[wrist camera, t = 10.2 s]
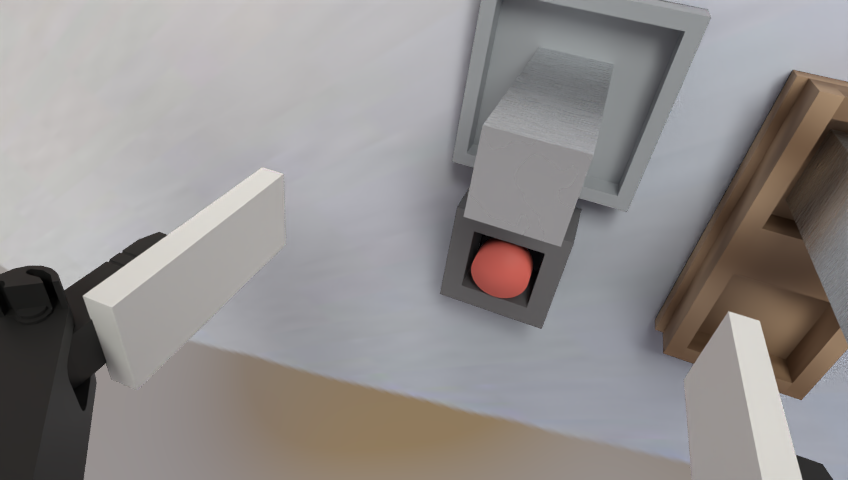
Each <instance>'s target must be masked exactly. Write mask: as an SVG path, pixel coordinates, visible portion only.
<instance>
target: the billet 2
mask: <svg viewBox="0 0 848 480" xmlns="http://www.w3.org/2000/svg"><path fill="white" fill-rule="evenodd" d="M786 201H787V204H788V206H789V208H790V211H791V213H792V215H793V218H794V220H795V222H796V225H797V227H798V229H799V232H800V234H801V236H802V239H803V241H804V243H805V246H806V248H807V250H808V253H809V255H810V258H811V260H812V262H813V265H814V267H815V269H816V272H817V274H818V276H819V279H820V281H821V283H822V286H823V288H824V290H825V293H826V295H827V297H828V300H829V302H830V304H831V307H832V309H833V311H834V314H835V316H836V318H837V321H838V323H839V325H840V328H841V330H842V332H843V335H844V337H845V339H846V342H847V344H848V133H845V132H841V131H836V130H832V129H831V130H830V131H829V133H828V134H827V136H826V137H825V139H824V140H823V142H822V144H821V145H820V147H819V148H818V150H817V151H816V153H815V155H814V156H813V158H812V159H811V161H810V162H809V164H808V166H807V167H806V169H805V170H804V172H803V173H802V175H801V177H800V178H799V180H798V181H797V183H796V184H795V186H794V188H793V189H792V191H791V192H790V194H789V195H788V197H787V199H786Z"/></svg>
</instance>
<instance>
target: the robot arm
mask: <svg viewBox="0 0 848 480" xmlns="http://www.w3.org/2000/svg"><path fill="white" fill-rule="evenodd" d="M285 245H286V229H285V197H284V174H282V173H279V172H276V171H272V170H269V169H266V168H263V167H262V168H261V169H259V170H258V171H256V172H255V173H254V174H252V175H251V176H249V177H248V178H247V179H245V180H244V181H242V182H241V183H240V184H238V185H237V186H235V187H234V188H233V189H231V190H230V191H228V192H227V193H226V194H224V195H223V196H221V197H220V198H219V199H217V200H216V201H214V202H213V203H212V204H210V205H209V206H207V207H206V208H205V209H203V210H202V211H200V212H199V213H198V214H196V215H195V216H194V217H192V218H191V219H189V220H188V221H187V222H185V223H184V224H182V225H181V226H180V227H178V228H177V229H175V230H174V231H173V232H171V233H170V234H168V235H166V234H164V233H161V232H158V233H155V234H152V235H150V236H147V237H144V238H142V239H139V240H137V241H136V242H134V243H133V244H132V245H130V246H129V247H127V248H126V249H124V250H123V252H122V253H118V254H117V255H115V256H114V257H113V258H111V259H110V261H109V262H105V263H104V264H102V265H101V266H99V267H98V268H96V269H95V270H93V271H92V272H91V273H89V274H88V275H86V276H85V277H83V278H82V279H80V280H79V281H77V282H76V283H74V284H73V285H72V286H70V287H69V288H67V289H66V290H64V289H63V286H62V284H61V281H60V278H59V276H58V274H57V273H56V272H55V271H54V270H53V269H52V268H48V267H44V266H25V267H20V268H15V269H12V270H10V271H7V272H5V273H2V274H0V480H83V479H84V472H85V464H86V457H87V450H88V441H89V435H90V427H91V420H92V412H93V405H94V398H95V390H96V377H95V372H96V371H97V370H98V369H100V368H101V367H102V366H103V365H104V364H105V363H106V366H107V368H108V371H109V374H110V377H111V379H112V380H114V381H116V382H119V383H121V384H124V385H126V386H128V387H130V388H133V389H135V390H138V389H139V388H140V387H141V386H142V385H143V384H144V383H145V382H146V381H147V380H148V379H149V378H150V377H151V376H152V375H153V374H154V373H155V372H156V371H157V370H158V369H159V368H160V367H162V365H164V364H165V363H166V362H167V360H169V359H170V358H171V357H172V356H173V355H174V354H175V353H176V352H177V351H178V350H179V349H180V348H181V347H182V346H183V345H184V344H185V343H186V342H187V341H188V340H189V339H190V338H191V337H192V336H193V335H194V334H195V333H196V332H197V331H198V330H199V329H200V328H201V327H202V326H203V325H204V324H205V323H207V322H208V321H209V320H210V319H211V318H212V317H213V316H214V315H215V314H216V313H217V312H218V311H219V310H220V309H221V308H222V307H223V306H224V305H225V304H226V303H227V302H228V301H229V300H230V299H231V298H232V297H233V296H234V295H235V294H236V293H237V292H238V291H239V290H240V289H241V288H242V287H243V286H244V285H245V284H246V283H247V282H248V281H249V280H250V279H251V278H252V277H254V276H255V275H256V274H257V273H258V272H259V271H260V270H261V269H262V268H263V267H264V266H265V265H266V264H267V263H268V262H269V261H270V260H271V259H272V258H273V257H274V256H275V255H276V254H277V253H278V252H279V251H280V250H281V249H282V248H283V247H284V246H285ZM684 389H685V401H686V414H687V426H688V438H689V451H690V463H691V476H692V480H833V479H832V477H831V476H830V475H829V473H828V472H827V470H826V469H825V467H824V466H823V464H820V463H817V462H815V461H812V460H809V459H806V458H803V457H800V456H798V455H796V454H795V450H794V446H793V443H792V439H791V435H790V432H789V428H788V424H787V420H786V417H785V413H784V409H783V406H782V402H781V398H780V394H779V391H778V387H777V383H776V379H775V376H774V372H773V368H772V365H771V361H770V357H769V353H768V350H767V346H766V342H765V339H764V335H763V331H762V327H761V324H760V321H759V320H755V319H752V318H749V317H746V316H742V315H739V314H736V313H733V312H729V311H728V313H727V314H726V316H725V317H724V319H723V320H722V322H721V323H720V325H719V326H718V328H717V330H716V331H715V333H714V334H713V336H712V337H711V339H710V340H709V342H708V343H707V345H706V346H705V348H704V349H703V351H702V352H701V354H700V355H699V357H698V359H697V360H696V362H695V363H694V365H693V366H692V368H691V369H690V371H689V372H688V374H687V375H686V377H685V378H684Z"/></svg>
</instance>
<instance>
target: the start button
mask: <svg viewBox="0 0 848 480" xmlns="http://www.w3.org/2000/svg"><path fill="white" fill-rule="evenodd" d="M532 270H533V259H532V256H531V254H530V252H529V251H528V249H527V248H525V247H522V246H519V245H516V244H513V243H510V242H506V241H503V240H500V239H497V238H492V239H489V240H487V241H486V242H484V243H483V244H482V245H481V247H480V249H479V251H478V253H477V255H476V257H475V259H474V261H473V263H472V266H471V273H472V277H473V280H474V281H475V283H476V284H477V286H478V287H479V288H480V289H481V290H483V291H484V292H486V293H487V294H489V295H491V296H494V297H498V298H512V297H515V296H518V295H519V294H521V293H522V292H523V291H524V290H525V289H526V287H527V285H528V282H529V279H530V276H531V273H532Z"/></svg>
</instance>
